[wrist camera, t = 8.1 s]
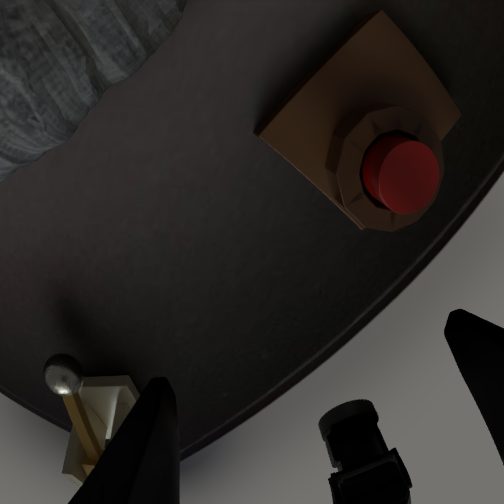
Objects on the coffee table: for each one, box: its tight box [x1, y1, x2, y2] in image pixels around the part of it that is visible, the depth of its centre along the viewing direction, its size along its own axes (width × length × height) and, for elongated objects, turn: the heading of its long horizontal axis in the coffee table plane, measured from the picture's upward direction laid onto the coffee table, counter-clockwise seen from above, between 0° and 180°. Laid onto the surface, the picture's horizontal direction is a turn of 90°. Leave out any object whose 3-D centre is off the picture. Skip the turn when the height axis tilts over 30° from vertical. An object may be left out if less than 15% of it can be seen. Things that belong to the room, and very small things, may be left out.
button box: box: [254, 10, 462, 232], centre depth 15 cm, size 10×9×4 cm
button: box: [362, 135, 439, 214], centre depth 14 cm, size 4×4×2 cm
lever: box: [43, 353, 104, 476], centre depth 19 cm, size 12×3×3 cm, turn 6°
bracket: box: [62, 375, 140, 487], centre depth 21 cm, size 9×7×9 cm
